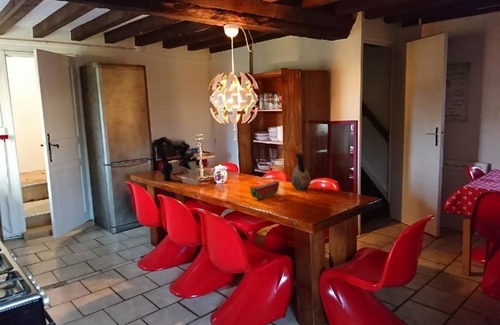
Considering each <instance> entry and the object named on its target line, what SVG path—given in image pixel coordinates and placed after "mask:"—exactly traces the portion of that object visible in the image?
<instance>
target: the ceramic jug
mask: <svg viewBox="0 0 500 325" xmlns="http://www.w3.org/2000/svg"><path fill="white" fill-rule="evenodd" d="M294 157H295V158H296V159H297V164H296V165H295V167H294V169H293V170H292V172H291V177H290V182H291V185H292V186H293V188H294V189H295V191H300V192H303V191H307V190H308V188H309V187H310V185H311V182H312V178H311V174H310V172H309V171H308V169H307V167H306V166H305V165H304V156H303V154H302V153H301V152H298V153H295V155H294Z"/></svg>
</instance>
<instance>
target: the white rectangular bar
mask: <svg viewBox="0 0 500 325" xmlns="http://www.w3.org/2000/svg"><path fill="white" fill-rule="evenodd" d="M181 180H182V183H183V184H189V185H196V186H198V185H200V179H197V178H195V179H194V180H193V178H191V177H189V178H188V177H183V178H182V179H181Z"/></svg>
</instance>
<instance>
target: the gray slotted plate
mask: <svg viewBox="0 0 500 325" xmlns="http://www.w3.org/2000/svg"><path fill="white" fill-rule="evenodd" d="M188 165H189V166H190V168H191V170H189V169H188V176H189V178H190V179H193V177H197V161H196V162H194V161H193V162H189V163H188Z"/></svg>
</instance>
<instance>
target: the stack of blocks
mask: <svg viewBox="0 0 500 325" xmlns="http://www.w3.org/2000/svg"><path fill="white" fill-rule="evenodd" d="M168 162H169V163H171V164H172V166H173V170H172V173H170V175H171V176H172V175H175V174H178V173H183V172H187V168H185V167H182V166H183V164H182V166H181V167H180V166H179V162H180V161H179V159H177V160H176V159H173V160H170V161H169V160H168Z"/></svg>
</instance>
